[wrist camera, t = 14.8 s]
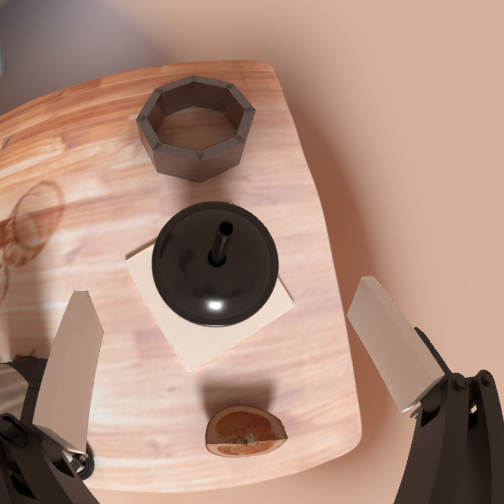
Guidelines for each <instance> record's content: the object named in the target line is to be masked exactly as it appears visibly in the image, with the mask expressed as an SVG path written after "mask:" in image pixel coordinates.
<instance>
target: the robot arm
mask: <svg viewBox="0 0 504 504" xmlns="http://www.w3.org/2000/svg"><path fill="white" fill-rule="evenodd" d="M5 72H6V63H5V59H4V56H3V52H2V48H1V45H0V79H1V78H2V77H3V76H4V74H5ZM347 317H348V319H349V320H350V322H351V324H352V326H353V327H354V329H355V330H356V332H357V334H358V336H359V337H360V339H361V341H362V343H363V344H364V346H365V348H366V350H367V351H368V353H369V355H370V357H371V359H372V360H373V362H374V364H375V366H376V368H377V369H378V371H379V373H380V375H381V377H382V379H383V380H384V382H385V384H386V386H387V388H388V390H389V391H390V393H391V395H392V397H393V399H394V401H395V403H396V405H397V407H398V408H399V411H400V413H402V412H405V411H407V410H408V409H411V408H413V406H415V405H416V404H417V403H418V402H419V401H420V403H421V405H420V406H419V407H418V408H417V409H416V410H415V411H414V412H413V413H412V414H411V416H410V417H411V418H412V417H413V416H414V415H416V414H417V413H418V415H417V416H416V417H415V419H417V420H416V426H415V431H414V436H413V441H412V444H411V449H410V453H409V457H408V460H407V464H406V468H405V471H404V475H403V478H402V481H401V484H400V487H399V490H398V493H397V496H396V498H395V501H394V504H504V420H503V415H502V410H501V405H500V401H499V397H498V393H497V389H496V385H495V381H494V378H493V376H492V375H491V373H490V372H488V371H487V370H480V371H479V373H478V374H477V375H476V376H475V377H468V378H465V377H464V376H463V375H461V374H459V373H452V372H451V371H450V370H449V368H448V367H447V365H446V364H445V362H444V361H443V359H442V358H441V356H440V355H439V353H438V352H437V350H436V349H434V346H433V345H432V343H430V340H429V339H428V338H427V336H426V335H425V334H424V333H423V332H422V331H421V330H420V329H418V328H417V327H415V328H413V327H412V325H411V324H410V323H409V321H408V320H407V319H406V317H405V316H404V314H403V313H402V312H401V311H400V309H399V308H398V307H397V305H396V304H395V303H394V302H393V300H392V299H391V297H390V296H389V295H388V294H387V293H386V291H385V290H384V289H383V287H382V286H381V285H380V284H379V282H378V281H377V280H376V279H375V278H374V276H366V277H362V278H361V280H360V283H359V286H358V288H357V291H356V293H355V296H354V298H353V301H352V304H351V306H350V308H349V311H348V313H347ZM103 334H104V331H103V329H102V326H101V324H100V321H99V319H98V316H97V314H96V311H95V309H94V306H93V303H92V301H91V298H90V295H89V293H88V291H74V292H73V294H72V297H71V299H70V301H69V304H68V306H67V309H66V311H65V314H64V316H63V319H62V321H61V324H60V326H59V329H58V332H57V335H56V337H55V340H54V343H53V346H52V349H51V352H50V355H49V358H48V359H43V358H40V359H39V361H38V362H37V363H36V365H35V366H34V368H33V371H32V374H31V377H30V379H31V380H30V381H29V384H28V389H27V392H26V396H25V400H24V404H23V408H22V413H21V417H20V420H18V419H17V418H16V417H15V416H13V415H12V414H10V413H3V414H1V415H0V504H100V503H99V502H98V501H97V500H96V498H95V497H94V496H93V495H92V493H91V492H90V491H89V490H88V488H87V487H86V485H85V484H84V483H83V481H82V480H81V479H80V477H79V476H78V474H77V473H76V471H75V470H74V468H73V467H72V465H71V464H70V462H69V461H68V459H67V457H66V456H65V455H64V453H63V452H62V449H63V447H64V448H66V449H67V450H69V451H72V452H77V453H82V454H86V440H87V429H88V419H89V411H90V403H91V396H92V390H93V383H94V378H95V372H96V367H97V362H98V357H99V352H100V347H101V343H102V338H103ZM475 405H476V408H477V410H476V411H475V412H474V413H472V412H471V409H472V408H473V407H474V406H475Z"/></svg>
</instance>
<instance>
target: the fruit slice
mask: <svg viewBox="0 0 504 504" xmlns="http://www.w3.org/2000/svg"><path fill="white" fill-rule="evenodd" d="M284 429H285V428H284V426H282V422H281V421H280V419H278V418H277V417H275V416H274V415H272V414H270V413H269V412H267V411H264V410H262V409H259V408H255V407H250V406H231V407H227V408H225V409H223V410H221V411H219V412H218V413H216V414H215V415H214V416H213V417H212V418H211V419H210V421H209V423H208V425H207V429H206V434H205V442H206V448H207V450H208V451H209V452H211V453H212V454H215V455H218V456H223V457H248V456H255V455H261V454H265V453H268V452H271V451H273V450H275V449H276V448H278V447H280V446H281V445H282V444H283V443H284V442H285V441H286V440H287V439H288V437H287V435H286V432H285V430H284Z"/></svg>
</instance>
